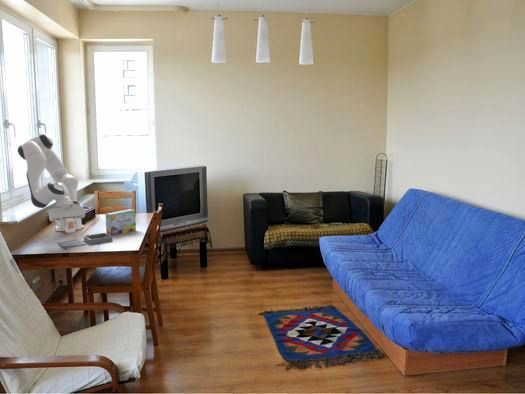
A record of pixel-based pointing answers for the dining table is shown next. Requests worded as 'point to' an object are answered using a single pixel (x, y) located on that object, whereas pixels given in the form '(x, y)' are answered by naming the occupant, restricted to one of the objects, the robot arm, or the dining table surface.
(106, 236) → the parts bin
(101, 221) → the dining table surface
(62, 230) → the robot arm
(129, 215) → the snack box
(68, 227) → the cream carton
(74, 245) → the blue-grey board
